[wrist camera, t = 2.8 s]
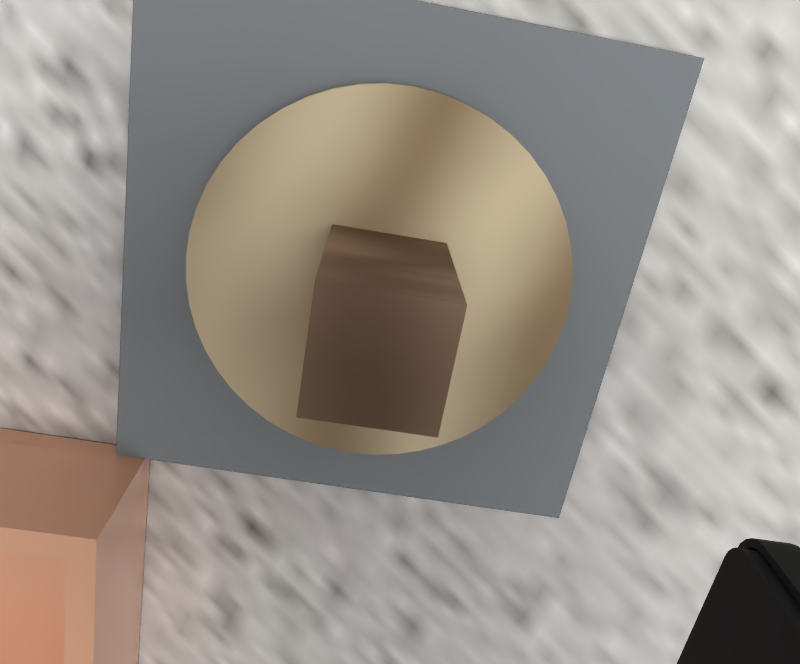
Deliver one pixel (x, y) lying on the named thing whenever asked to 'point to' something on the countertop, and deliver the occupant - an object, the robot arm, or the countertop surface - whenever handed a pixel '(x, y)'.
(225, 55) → the mat
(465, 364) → the lid
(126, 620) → the salmon open box
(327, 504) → the countertop surface
